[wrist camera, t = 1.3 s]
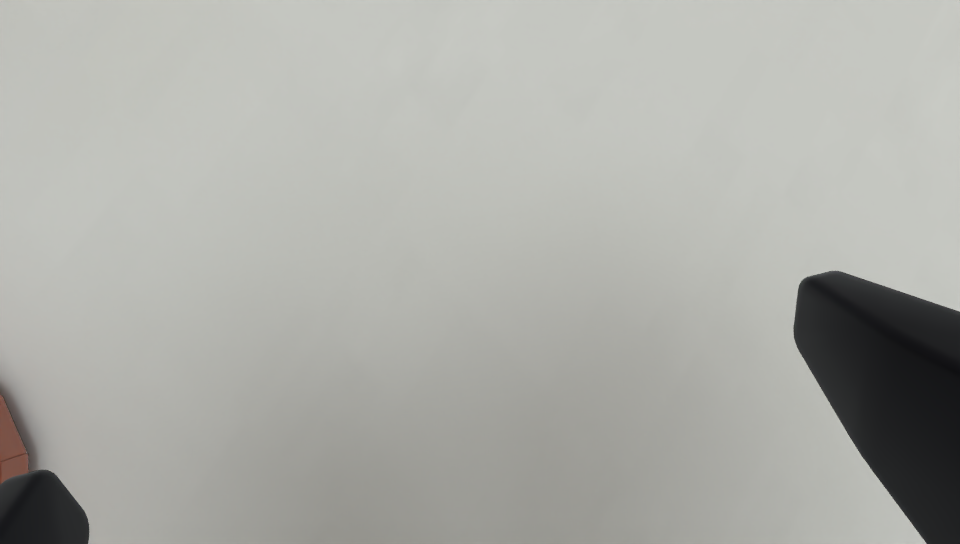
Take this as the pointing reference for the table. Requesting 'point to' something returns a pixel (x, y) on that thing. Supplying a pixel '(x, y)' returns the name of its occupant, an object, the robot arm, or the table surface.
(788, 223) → the table surface
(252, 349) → the table surface
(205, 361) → the table surface
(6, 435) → the dish
